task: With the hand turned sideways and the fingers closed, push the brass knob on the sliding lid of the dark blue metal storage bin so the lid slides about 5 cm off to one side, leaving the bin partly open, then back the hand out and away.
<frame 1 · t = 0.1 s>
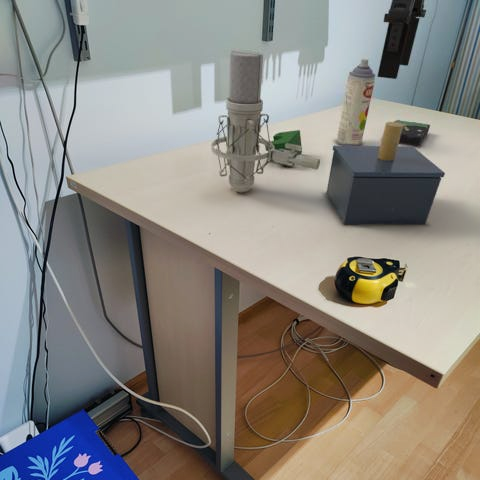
hand: (393, 70, 67), 25 cm above the table, tool pointing down, fingers open, 13 cm apart
lid: (389, 143, 77), point 13 cm above the table, slide at 0.0 cm
bin: (373, 208, 85), on the table
microphone: (261, 196, 88), on the table
aerosol can: (348, 143, 118), on the table
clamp: (282, 160, 105), on the table
disk drive: (405, 137, 124), on the table
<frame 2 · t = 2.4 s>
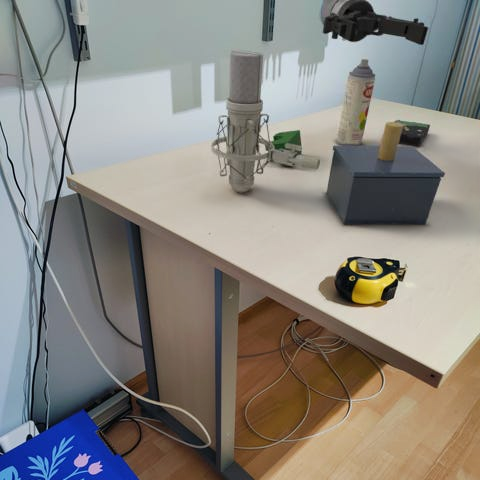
hand: (389, 34, 77), 28 cm above the table, tool horizontal, fingers open, 13 cm apart
nothing on the table moved.
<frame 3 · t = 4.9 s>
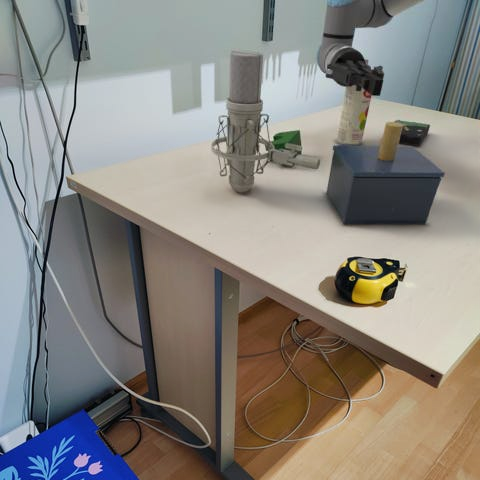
hand: (377, 88, 81), 20 cm above the table, tool horizontal, fingers closed
nothing on the table moved.
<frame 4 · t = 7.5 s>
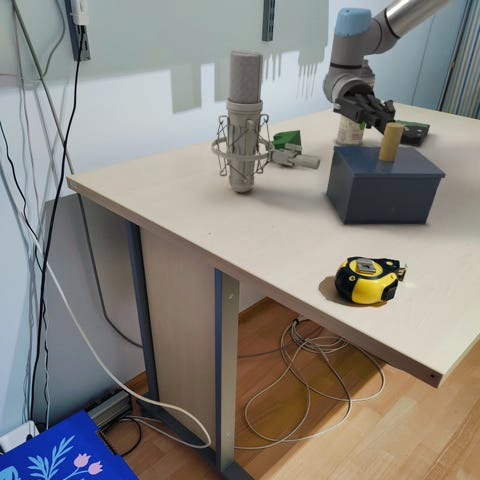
hand: (389, 128, 77), 15 cm above the table, tool horizontal, fingers closed
lid: (390, 144, 77), point 13 cm above the table, slide at 0.4 cm, touching gripper
everything else where it was.
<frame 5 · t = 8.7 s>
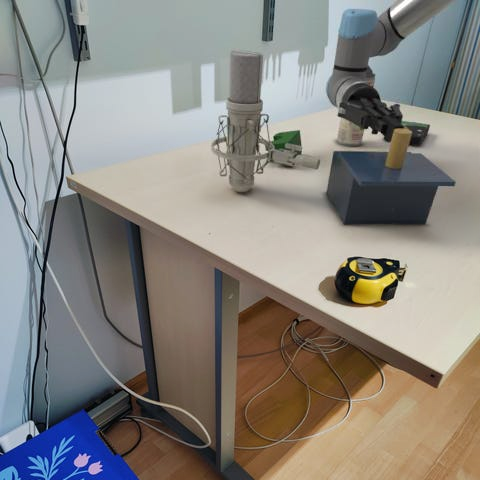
hand: (397, 134, 74), 15 cm above the table, tool horizontal, fingers closed
lid: (397, 151, 74), point 13 cm above the table, slide at 4.1 cm, touching gripper
everything else where it was.
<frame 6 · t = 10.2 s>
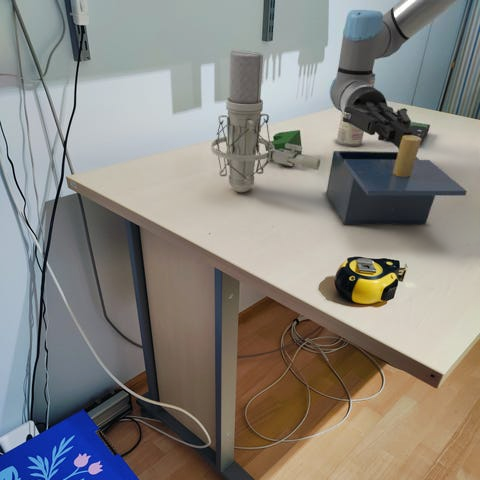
hand: (405, 140, 71), 15 cm above the table, tool horizontal, fingers closed
lid: (405, 158, 71), point 13 cm above the table, slide at 7.8 cm, touching gripper
everything else where it was.
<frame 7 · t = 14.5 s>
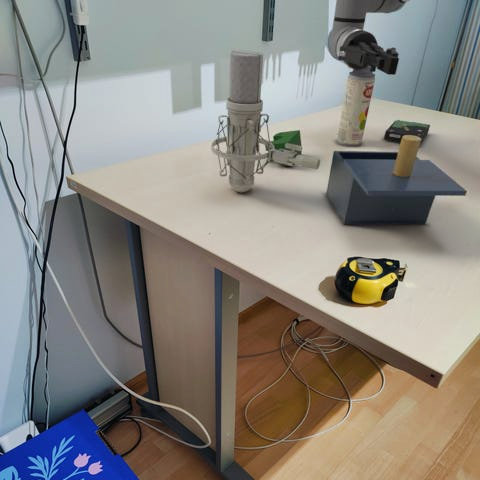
hand: (393, 66, 81), 23 cm above the table, tool horizontal, fingers closed
lid: (405, 158, 71), point 13 cm above the table, slide at 7.8 cm
everything else where it was.
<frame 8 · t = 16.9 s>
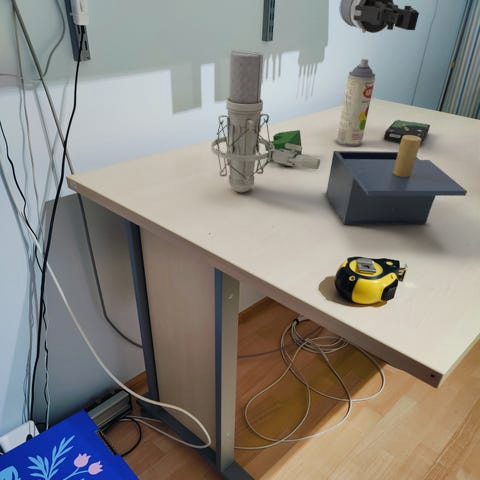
hand: (413, 21, 77), 30 cm above the table, tool horizontal, fingers closed
nothing on the table moved.
at the end: lid slide at 7.8 cm; lid moved 7.8 cm from its start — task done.
